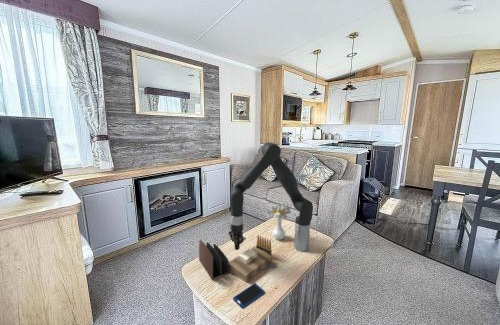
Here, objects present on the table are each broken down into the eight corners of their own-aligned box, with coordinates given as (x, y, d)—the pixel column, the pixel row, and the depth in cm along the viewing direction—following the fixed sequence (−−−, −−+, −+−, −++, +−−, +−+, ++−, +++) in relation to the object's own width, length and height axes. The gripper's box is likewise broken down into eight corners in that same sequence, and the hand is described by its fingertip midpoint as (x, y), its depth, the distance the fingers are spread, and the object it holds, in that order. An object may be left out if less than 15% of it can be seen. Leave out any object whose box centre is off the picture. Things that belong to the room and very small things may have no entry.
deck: (254, 252, 127) (254, 246, 127) (272, 262, 118) (272, 256, 117) (227, 269, 112) (227, 263, 111) (245, 282, 102) (245, 275, 101)
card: (249, 252, 121) (249, 248, 120) (257, 256, 117) (257, 252, 116) (238, 259, 114) (238, 255, 114) (246, 264, 110) (246, 259, 110)
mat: (271, 263, 117) (271, 262, 117) (284, 270, 111) (284, 270, 111) (247, 281, 103) (247, 281, 103) (260, 291, 97) (260, 291, 97)
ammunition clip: (255, 252, 127) (256, 234, 126) (257, 251, 129) (257, 233, 127) (270, 259, 121) (270, 240, 119) (271, 257, 122) (272, 239, 120)
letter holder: (212, 281, 103) (211, 256, 101) (198, 260, 120) (198, 238, 117) (229, 273, 109) (229, 249, 106) (214, 254, 125) (214, 233, 123)
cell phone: (232, 299, 92) (232, 297, 92) (255, 283, 101) (255, 282, 101) (242, 310, 87) (242, 308, 86) (265, 292, 96) (265, 291, 95)
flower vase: (262, 236, 147) (262, 203, 143) (284, 231, 154) (285, 199, 150) (271, 245, 135) (271, 209, 131) (294, 240, 142) (295, 205, 138)
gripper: (249, 223, 117) (249, 251, 119) (233, 216, 126) (234, 242, 128) (240, 227, 111) (240, 256, 114) (224, 220, 120) (224, 247, 123)
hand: (237, 249), depth 121 cm, fingers closed
